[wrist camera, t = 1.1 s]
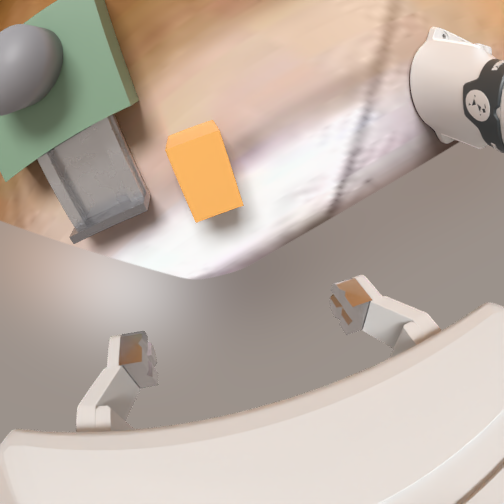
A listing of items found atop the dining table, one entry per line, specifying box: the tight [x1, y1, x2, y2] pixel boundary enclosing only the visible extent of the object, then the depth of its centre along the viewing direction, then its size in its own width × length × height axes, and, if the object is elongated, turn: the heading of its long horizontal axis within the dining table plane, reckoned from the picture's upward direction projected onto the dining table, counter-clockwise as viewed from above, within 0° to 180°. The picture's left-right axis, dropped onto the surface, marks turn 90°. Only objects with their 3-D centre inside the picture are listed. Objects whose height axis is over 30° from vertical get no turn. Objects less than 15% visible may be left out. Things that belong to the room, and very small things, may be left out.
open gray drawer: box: [37, 114, 150, 244], centre depth 26 cm, size 10×11×4 cm
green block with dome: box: [0, 0, 139, 182], centre depth 17 cm, size 16×14×9 cm
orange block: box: [165, 120, 244, 222], centre depth 28 cm, size 5×8×6 cm, turn 15°
